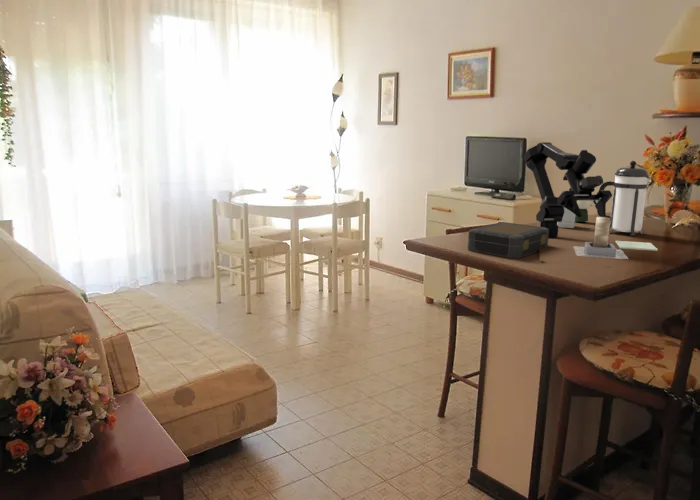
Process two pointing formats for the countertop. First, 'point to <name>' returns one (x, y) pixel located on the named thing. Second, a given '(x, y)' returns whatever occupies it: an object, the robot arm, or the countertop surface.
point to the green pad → (636, 245)
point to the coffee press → (628, 199)
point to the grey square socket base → (600, 251)
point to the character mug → (583, 210)
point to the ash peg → (601, 232)
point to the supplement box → (567, 219)
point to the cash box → (508, 239)
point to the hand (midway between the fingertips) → (592, 216)
